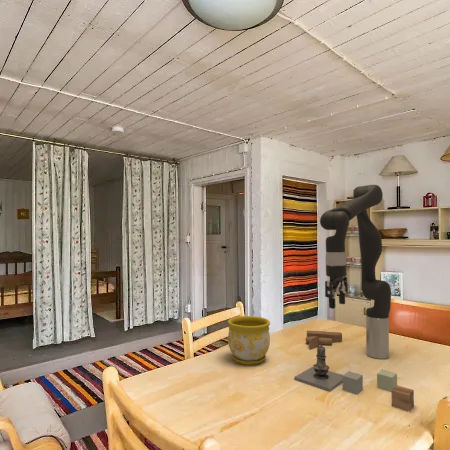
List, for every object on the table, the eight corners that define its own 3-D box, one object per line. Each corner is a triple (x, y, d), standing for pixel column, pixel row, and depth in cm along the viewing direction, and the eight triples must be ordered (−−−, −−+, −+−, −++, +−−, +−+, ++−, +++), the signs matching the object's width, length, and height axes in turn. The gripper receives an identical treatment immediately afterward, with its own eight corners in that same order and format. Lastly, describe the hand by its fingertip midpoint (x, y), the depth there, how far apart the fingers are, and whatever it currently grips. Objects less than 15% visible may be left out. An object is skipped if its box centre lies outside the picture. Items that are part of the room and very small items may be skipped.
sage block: (382, 383, 124) (382, 369, 125) (397, 387, 121) (396, 373, 121) (377, 387, 121) (377, 373, 121) (392, 392, 117) (392, 377, 117)
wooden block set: (304, 328, 177) (341, 329, 174) (304, 339, 176) (341, 341, 174) (307, 338, 160) (348, 340, 157) (307, 350, 160) (348, 352, 157)
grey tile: (313, 368, 137) (313, 366, 137) (347, 379, 128) (347, 376, 128) (294, 379, 127) (294, 376, 127) (329, 391, 118) (329, 388, 118)
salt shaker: (330, 380, 124) (330, 347, 124) (313, 379, 125) (313, 345, 125) (328, 373, 130) (328, 341, 130) (312, 372, 131) (312, 340, 131)
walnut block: (396, 400, 112) (396, 385, 112) (413, 406, 108) (413, 389, 108) (391, 406, 108) (391, 390, 108) (409, 412, 105) (408, 395, 105)
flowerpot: (221, 363, 142) (221, 323, 143) (236, 350, 159) (236, 314, 159) (263, 370, 136) (263, 328, 136) (274, 355, 152) (274, 318, 153)
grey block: (348, 385, 123) (348, 371, 123) (362, 389, 119) (362, 375, 119) (342, 390, 119) (342, 375, 119) (357, 394, 116) (356, 379, 116)
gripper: (335, 261, 140) (336, 301, 140) (317, 265, 129) (319, 308, 129) (353, 262, 134) (354, 303, 134) (336, 266, 124) (338, 311, 124)
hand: (337, 306), depth 132 cm, fingers open, 8 cm apart
